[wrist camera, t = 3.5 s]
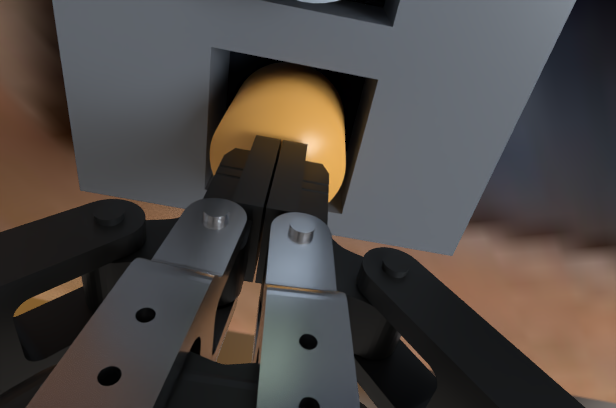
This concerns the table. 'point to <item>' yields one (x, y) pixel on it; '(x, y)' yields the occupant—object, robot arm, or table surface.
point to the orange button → (287, 117)
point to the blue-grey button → (318, 1)
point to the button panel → (321, 54)
